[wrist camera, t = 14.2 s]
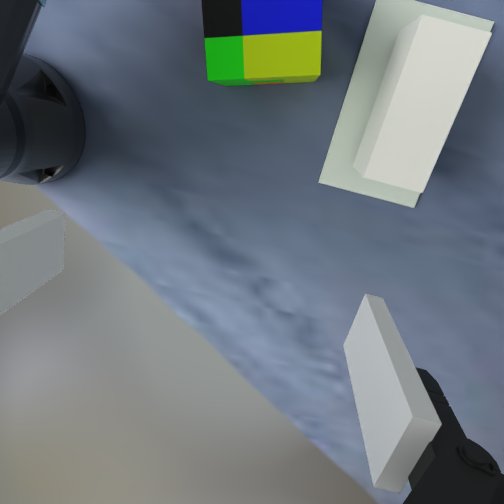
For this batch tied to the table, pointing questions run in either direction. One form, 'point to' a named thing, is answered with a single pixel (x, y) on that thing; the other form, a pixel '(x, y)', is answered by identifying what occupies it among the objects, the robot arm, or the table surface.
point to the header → (366, 90)
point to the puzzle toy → (262, 41)
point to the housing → (419, 101)
